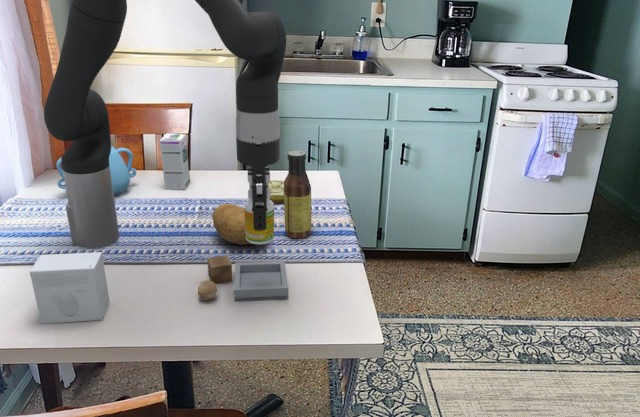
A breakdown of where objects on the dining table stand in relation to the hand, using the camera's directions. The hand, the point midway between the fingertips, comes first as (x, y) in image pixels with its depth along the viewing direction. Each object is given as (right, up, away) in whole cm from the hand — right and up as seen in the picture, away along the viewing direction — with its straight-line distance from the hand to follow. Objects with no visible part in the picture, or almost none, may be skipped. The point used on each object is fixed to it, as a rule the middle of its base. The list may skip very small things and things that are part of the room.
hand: (259, 221), depth 101 cm
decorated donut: (-1, +5, +46) cm, 47 cm away
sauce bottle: (+6, -4, +27) cm, 28 cm away
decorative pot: (-48, +7, +46) cm, 67 cm away
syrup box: (-29, +9, +51) cm, 59 cm away
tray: (0, -13, +6) cm, 14 cm away
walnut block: (-9, -12, +8) cm, 17 cm away
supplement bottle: (0, -3, +2) cm, 4 cm away
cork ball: (-10, -13, +1) cm, 16 cm away
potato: (-7, -5, +22) cm, 24 cm away
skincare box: (-32, -16, -4) cm, 36 cm away
